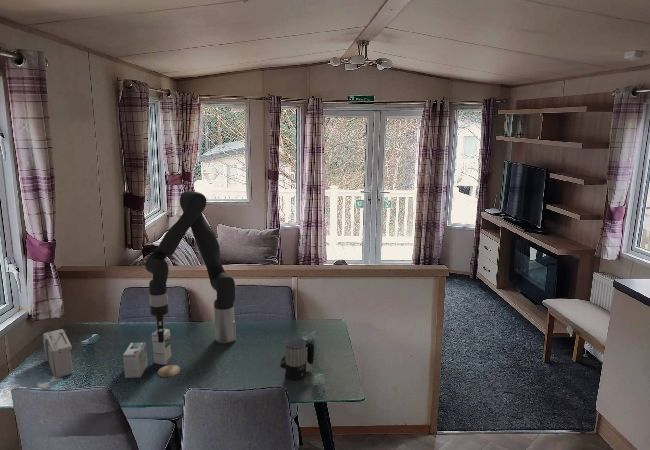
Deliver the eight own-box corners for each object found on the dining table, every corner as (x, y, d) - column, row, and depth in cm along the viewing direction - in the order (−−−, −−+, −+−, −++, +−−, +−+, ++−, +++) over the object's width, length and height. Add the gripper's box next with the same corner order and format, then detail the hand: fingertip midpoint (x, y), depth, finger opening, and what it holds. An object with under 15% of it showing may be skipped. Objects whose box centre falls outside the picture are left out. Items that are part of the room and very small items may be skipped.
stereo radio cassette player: (45, 360, 214) (39, 318, 209) (66, 354, 219) (60, 313, 214) (53, 381, 198) (47, 336, 193) (75, 374, 203) (70, 330, 198)
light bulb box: (132, 364, 211) (130, 342, 208) (148, 364, 211) (146, 341, 209) (124, 378, 200) (122, 354, 198) (141, 377, 201) (139, 354, 199)
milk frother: (298, 383, 198) (298, 350, 194) (267, 372, 206) (267, 340, 202) (317, 368, 209) (317, 336, 206) (287, 358, 218) (287, 327, 214)
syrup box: (166, 365, 211) (163, 334, 207) (153, 363, 212) (151, 333, 209) (172, 358, 216) (170, 328, 213) (160, 357, 217) (158, 327, 214)
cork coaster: (179, 364, 211) (179, 363, 211) (180, 375, 203) (180, 374, 203) (157, 368, 208) (157, 367, 208) (158, 378, 200) (158, 377, 200)
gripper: (168, 308, 202) (170, 343, 206) (167, 295, 216) (169, 329, 219) (149, 310, 200) (152, 346, 204) (149, 297, 213) (151, 331, 217)
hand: (161, 337), depth 211 cm, fingers open, 8 cm apart
